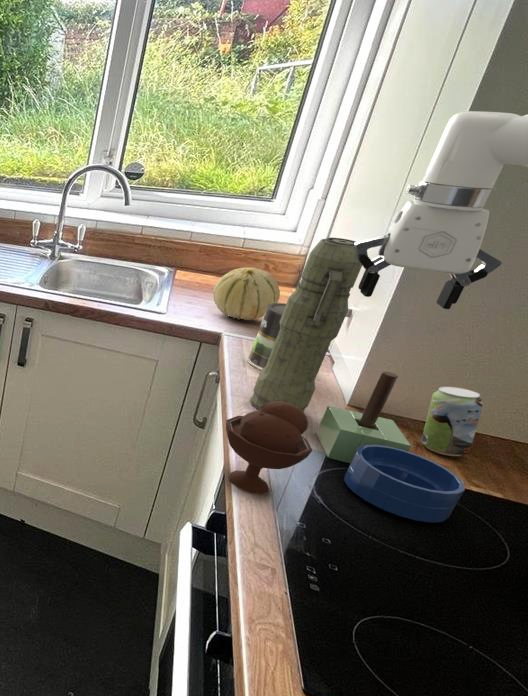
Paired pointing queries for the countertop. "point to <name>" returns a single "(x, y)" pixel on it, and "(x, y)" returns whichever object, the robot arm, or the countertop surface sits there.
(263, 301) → the cantaloupe
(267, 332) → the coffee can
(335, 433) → the utensil holder
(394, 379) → the stirring stick
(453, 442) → the beverage can
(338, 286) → the thermos
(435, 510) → the mixing bowl
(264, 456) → the ice cream bowl
